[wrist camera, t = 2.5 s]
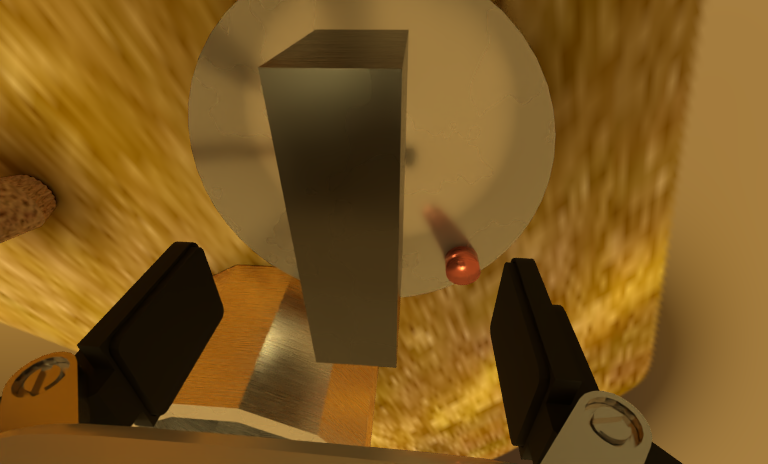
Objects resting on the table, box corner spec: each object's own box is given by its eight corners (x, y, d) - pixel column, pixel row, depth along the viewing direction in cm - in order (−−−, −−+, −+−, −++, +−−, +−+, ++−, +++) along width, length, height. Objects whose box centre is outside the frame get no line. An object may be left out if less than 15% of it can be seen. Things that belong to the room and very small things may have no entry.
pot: (158, 261, 24) (43, 393, 16) (376, 271, 23) (356, 417, 15) (218, 383, 32) (160, 507, 25) (380, 395, 31) (368, 527, 24)
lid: (170, -45, 14) (-57, -48, 7) (583, -49, 13) (754, -59, 6) (255, 259, 23) (188, 381, 16) (503, 271, 22) (539, 406, 15)
